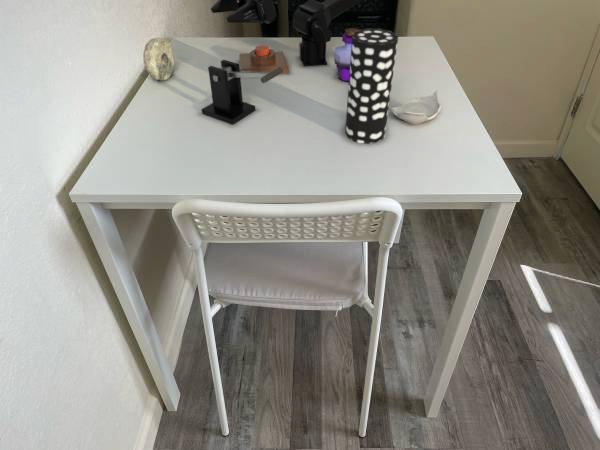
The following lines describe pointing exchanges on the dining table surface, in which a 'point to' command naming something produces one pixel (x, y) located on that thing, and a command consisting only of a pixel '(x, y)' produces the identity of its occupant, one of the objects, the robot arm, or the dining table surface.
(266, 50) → the button
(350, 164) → the dining table surface
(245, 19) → the robot arm
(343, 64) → the potion bottle
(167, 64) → the stone ring
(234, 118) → the bracket
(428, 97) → the pottery shard
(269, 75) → the lever
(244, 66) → the control block
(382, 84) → the white-spotted black cylinder
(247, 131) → the dining table surface
